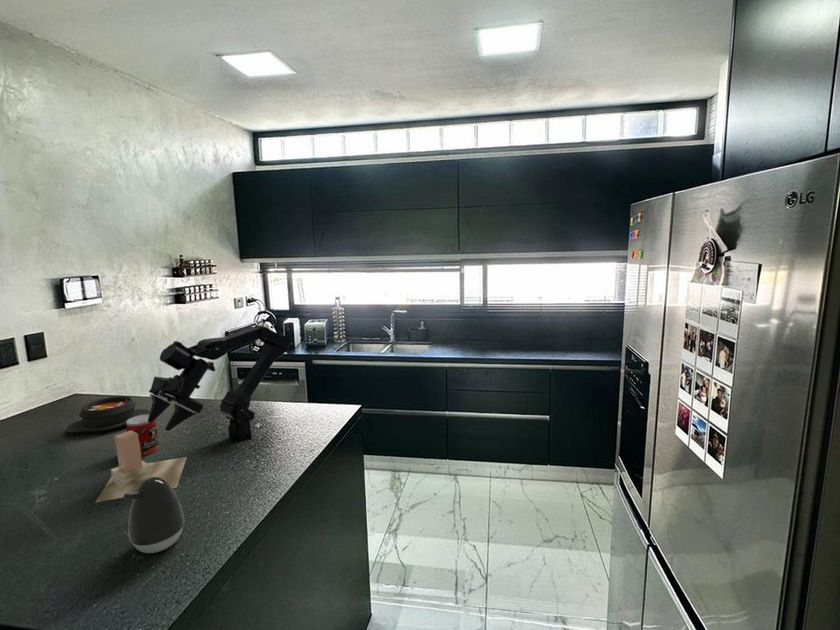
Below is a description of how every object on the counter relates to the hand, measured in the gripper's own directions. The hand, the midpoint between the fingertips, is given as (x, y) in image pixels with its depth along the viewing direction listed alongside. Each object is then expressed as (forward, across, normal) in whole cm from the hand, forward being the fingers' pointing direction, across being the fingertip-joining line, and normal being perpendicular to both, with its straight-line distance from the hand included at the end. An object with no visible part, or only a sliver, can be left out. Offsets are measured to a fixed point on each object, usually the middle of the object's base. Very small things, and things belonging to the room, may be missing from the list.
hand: (157, 426), depth 124 cm
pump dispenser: (+21, +33, -6) cm, 40 cm away
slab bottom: (+14, +1, +2) cm, 15 cm away
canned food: (+8, -15, +12) cm, 21 cm away
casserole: (+7, -49, +17) cm, 52 cm away
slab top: (+13, +1, +1) cm, 13 cm away
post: (+12, +1, 0) cm, 12 cm away
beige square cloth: (+13, +3, +4) cm, 14 cm away
